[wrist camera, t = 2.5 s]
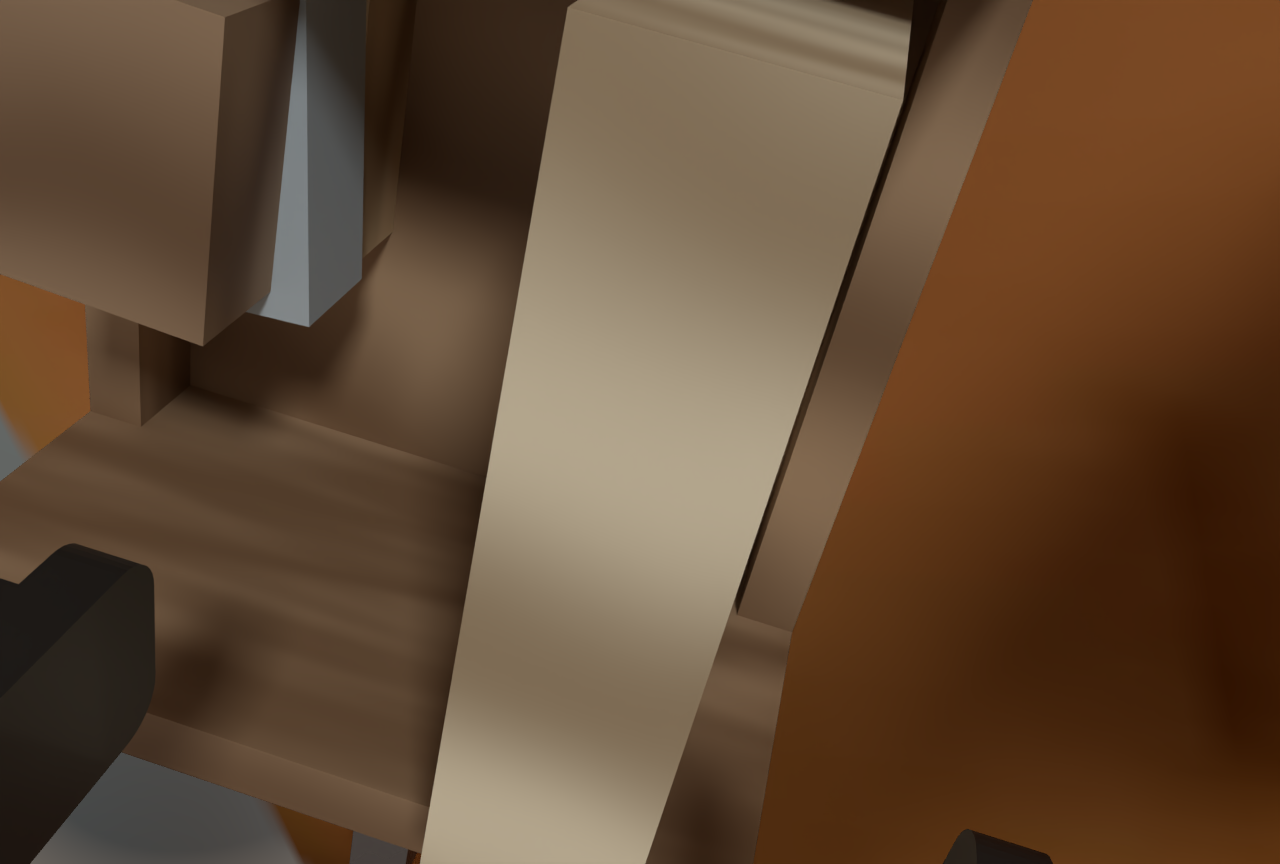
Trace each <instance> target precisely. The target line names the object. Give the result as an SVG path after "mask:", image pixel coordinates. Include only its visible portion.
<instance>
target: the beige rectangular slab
mask: <svg viewBox="0 0 1280 864" xmlns="http://www.w3.org/2000/svg"><path fill="white" fill-rule="evenodd" d="M913 3H914V0H577V1H576V2H574V3H573V4H571V5H570V6H569V7H568V8H567V14H566V20H565V26H564V32H563V37H562V43H561V49H560V55H559V61H558V66H557V72H556V78H555V84H554V90H553V95H552V101H551V107H550V113H549V119H548V124H547V130H546V136H545V142H544V148H543V153H542V159H541V165H540V171H539V176H538V182H537V188H536V194H535V200H534V205H533V211H532V217H531V223H530V229H529V234H528V240H527V246H526V252H525V258H524V263H523V269H522V275H521V281H520V287H519V292H518V298H517V304H516V310H515V316H514V321H513V327H512V333H511V339H510V345H509V350H508V356H507V362H506V368H505V373H504V379H503V385H502V391H501V397H500V402H499V408H498V414H497V420H496V426H495V431H494V437H493V443H492V449H491V455H490V460H489V466H488V472H487V478H486V484H485V489H484V495H483V501H482V507H481V513H480V518H479V524H478V530H477V536H476V542H475V547H474V553H473V559H472V565H471V571H470V576H469V582H468V588H467V594H466V599H465V605H464V611H463V617H462V623H461V628H460V634H459V640H458V646H457V652H456V657H455V663H454V669H453V675H452V681H451V686H450V692H449V698H448V704H447V710H446V715H445V721H444V727H443V733H442V739H441V744H440V750H439V756H438V762H437V768H436V773H435V779H434V785H433V791H432V797H431V802H430V808H429V814H428V820H427V825H426V831H425V837H424V843H423V849H422V854H421V860H420V864H645V863H646V860H647V857H648V854H649V851H650V848H651V845H652V842H653V839H654V836H655V833H656V830H657V827H658V824H659V822H660V819H661V816H662V813H663V810H664V807H665V804H666V801H667V798H668V795H669V792H670V789H671V786H672V783H673V780H674V777H675V774H676V771H677V768H678V765H679V762H680V759H681V756H682V753H683V750H684V748H685V745H686V742H687V739H688V736H689V733H690V730H691V727H692V724H693V721H694V718H695V715H696V712H697V709H698V706H699V703H700V700H701V697H702V694H703V691H704V688H705V685H706V682H707V679H708V677H709V674H710V671H711V668H712V665H713V662H714V659H715V656H716V653H717V650H718V647H719V644H720V641H721V638H722V635H723V632H724V629H725V626H726V623H727V620H728V617H729V614H730V611H731V608H732V605H733V603H734V600H735V597H736V594H737V591H738V588H739V585H740V582H741V579H742V576H743V573H744V570H745V567H746V564H747V561H748V558H749V555H750V552H751V549H752V546H753V543H754V540H755V537H756V534H757V531H758V529H759V526H760V523H761V520H762V517H763V514H764V511H765V508H766V505H767V502H768V499H769V496H770V493H771V490H772V487H773V484H774V481H775V478H776V475H777V472H778V469H779V466H780V463H781V460H782V457H783V455H784V452H785V449H786V446H787V443H788V440H789V437H790V434H791V431H792V428H793V425H794V422H795V419H796V416H797V413H798V410H799V407H800V404H801V401H802V398H803V395H804V392H805V389H806V386H807V384H808V381H809V378H810V375H811V372H812V369H813V366H814V363H815V360H816V357H817V354H818V351H819V348H820V345H821V342H822V339H823V336H824V333H825V330H826V327H827V324H828V321H829V318H830V315H831V312H832V310H833V307H834V304H835V301H836V298H837V295H838V292H839V289H840V286H841V283H842V280H843V277H844V274H845V271H846V268H847V265H848V262H849V259H850V256H851V253H852V250H853V247H854V244H855V241H856V238H857V236H858V233H859V230H860V227H861V224H862V221H863V218H864V215H865V212H866V209H867V206H868V203H869V200H870V197H871V194H872V191H873V188H874V185H875V182H876V179H877V176H878V173H879V170H880V167H881V164H882V162H883V159H884V156H885V153H886V150H887V147H888V144H889V141H890V138H891V135H892V132H893V129H894V126H895V123H896V120H897V117H898V114H899V111H900V108H901V105H902V102H903V98H904V88H905V79H906V69H907V60H908V50H909V41H910V31H911V22H912V12H913Z"/></svg>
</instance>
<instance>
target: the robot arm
mask: <svg viewBox="0 0 1280 864" xmlns="http://www.w3.org/2000/svg"><path fill="white" fill-rule="evenodd" d="M155 676H156V670H155V603H154V578H153V574H152V572H151V570H150V568H149V567H147V566H145V565H142V564H139V563H136V562H133V561H130V560H126V559H123V558H120V557H117V556H114V555H111V554H107V553H104V552H101V551H98V550H95V549H92V548H88V547H85V546H82V545H79V544H76V543H70V544H67V545H64V546H62V547H61V548H59V549H58V550H56V551H55V552H54V553H53V554H51V555H50V556H49V557H48V558H47V559H46V560H45V561H44V562H43V563H41V564H40V565H39V566H38V567H37V568H36V569H35V570H34V571H33V572H31V573H30V574H29V575H28V576H27V577H26V578H25V579H24V580H23V581H21V582H20V583H19V584H17V583H14V582H11V581H7V580H4V579H1V578H0V864H30V863H31V862H32V861H33V859H34V858H35V857H36V856H37V854H38V853H39V852H40V850H42V848H43V847H44V846H45V845H46V843H47V842H48V841H49V840H50V839H51V837H52V836H53V835H54V833H56V831H57V830H58V829H59V828H60V826H61V825H62V824H63V823H64V822H65V820H66V819H67V818H68V817H69V815H70V814H71V813H72V812H73V810H74V809H75V808H76V807H77V806H78V804H79V803H80V802H81V801H82V799H83V798H84V797H85V796H86V795H87V793H88V792H89V791H90V790H91V788H92V787H93V786H94V785H95V784H96V782H97V781H98V780H99V779H100V777H101V776H102V775H103V774H104V773H105V771H106V770H107V769H108V768H109V766H110V765H111V764H112V763H113V762H114V760H115V759H116V758H117V757H118V755H119V754H120V753H121V752H122V751H123V749H124V748H125V747H126V746H127V744H128V743H129V742H130V741H131V739H132V738H133V736H134V735H135V733H136V732H137V730H138V728H139V727H140V725H141V723H142V721H143V719H144V717H145V715H146V712H147V710H148V707H149V705H150V702H151V699H152V695H153V691H154V686H155ZM943 864H1053V863H1052V861H1051V859H1050V857H1049V856H1048V855H1047V854H1045V853H1042V852H1038V851H1035V850H1032V849H1029V848H1026V847H1023V846H1019V845H1016V844H1013V843H1010V842H1007V841H1004V840H1000V839H997V838H994V837H991V836H988V835H985V834H982V833H978V832H975V831H972V830H969V829H966V830H964V831H963V832H961V834H960V835H959V836H958V838H957V839H956V841H955V842H954V844H953V846H952V848H951V850H950V852H949V854H948V855H947V857H946V859H945V861H944V863H943Z"/></svg>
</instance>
